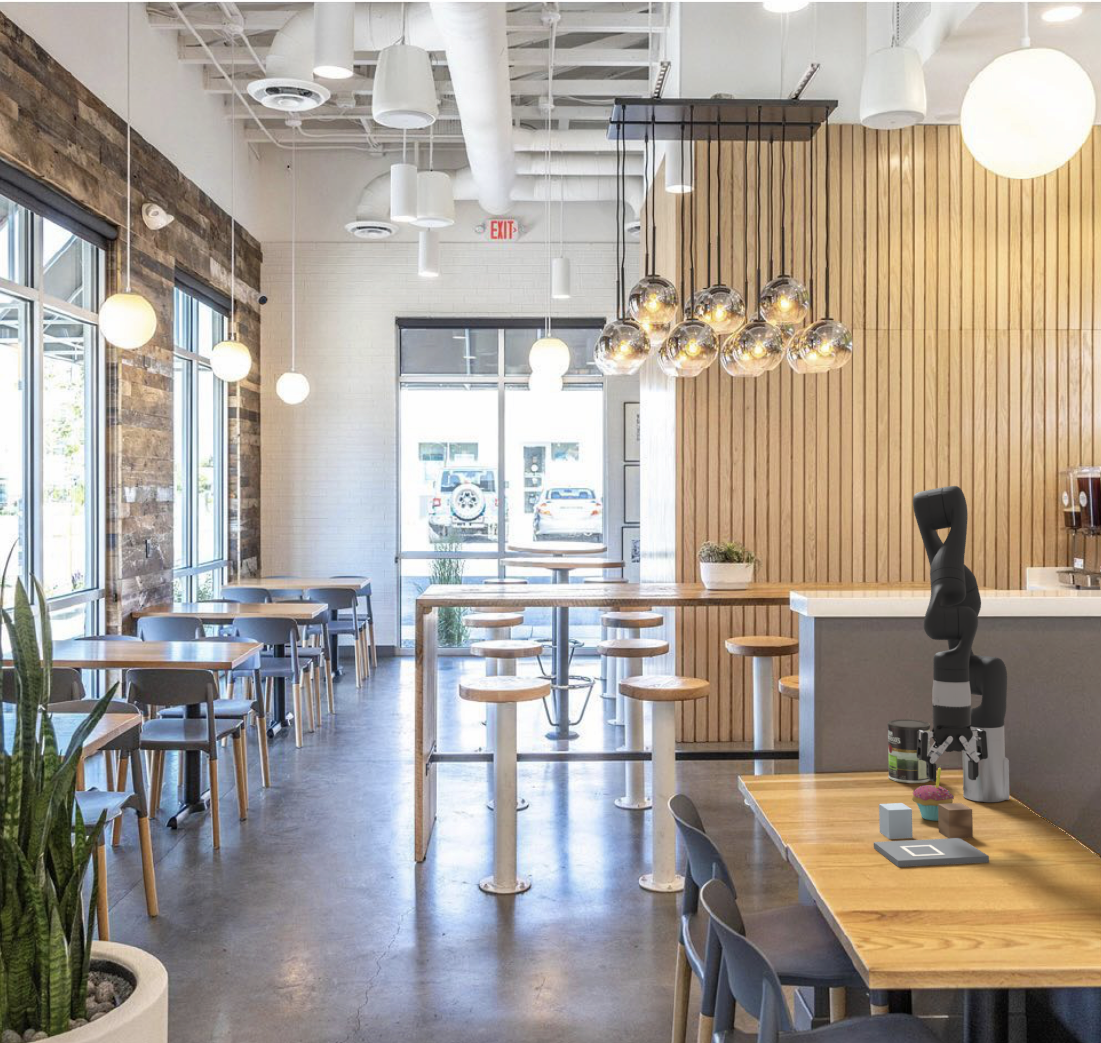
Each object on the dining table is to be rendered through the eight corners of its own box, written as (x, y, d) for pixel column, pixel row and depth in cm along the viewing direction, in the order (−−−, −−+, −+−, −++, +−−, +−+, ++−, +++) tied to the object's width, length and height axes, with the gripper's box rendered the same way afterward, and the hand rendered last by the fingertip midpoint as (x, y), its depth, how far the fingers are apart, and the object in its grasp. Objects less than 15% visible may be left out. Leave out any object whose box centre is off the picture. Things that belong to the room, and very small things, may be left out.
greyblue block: (902, 831, 231) (902, 803, 231) (912, 838, 226) (912, 809, 226) (879, 832, 230) (879, 804, 230) (889, 839, 225) (888, 810, 225)
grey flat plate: (959, 843, 221) (959, 837, 221) (989, 862, 209) (988, 855, 209) (873, 848, 219) (873, 841, 219) (898, 867, 207) (898, 860, 207)
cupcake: (959, 817, 240) (958, 762, 240) (943, 825, 234) (942, 769, 234) (922, 810, 246) (921, 757, 246) (905, 818, 240) (904, 764, 240)
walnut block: (961, 831, 230) (961, 803, 230) (972, 838, 225) (972, 809, 225) (938, 832, 229) (938, 804, 229) (949, 839, 224) (948, 810, 224)
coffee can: (898, 784, 270) (897, 727, 270) (881, 774, 280) (880, 720, 280) (938, 782, 271) (937, 725, 271) (920, 773, 281) (919, 718, 281)
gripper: (976, 698, 231) (976, 775, 231) (910, 700, 230) (911, 777, 230) (993, 704, 224) (994, 783, 224) (926, 705, 223) (926, 785, 223)
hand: (952, 780), depth 227 cm, fingers open, 8 cm apart
